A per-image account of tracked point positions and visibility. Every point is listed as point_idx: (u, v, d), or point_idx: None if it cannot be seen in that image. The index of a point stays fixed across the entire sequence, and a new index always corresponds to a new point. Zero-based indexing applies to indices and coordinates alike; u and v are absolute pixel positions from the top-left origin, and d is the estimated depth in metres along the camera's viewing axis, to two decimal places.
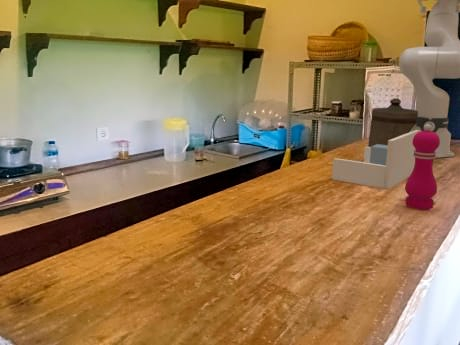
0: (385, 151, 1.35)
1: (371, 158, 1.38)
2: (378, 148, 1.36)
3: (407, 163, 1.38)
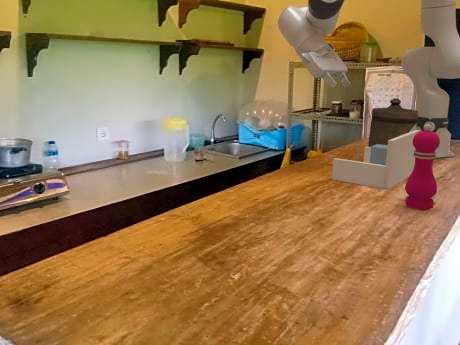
0: (385, 151, 1.35)
1: (371, 158, 1.38)
2: (378, 148, 1.36)
3: (407, 163, 1.38)
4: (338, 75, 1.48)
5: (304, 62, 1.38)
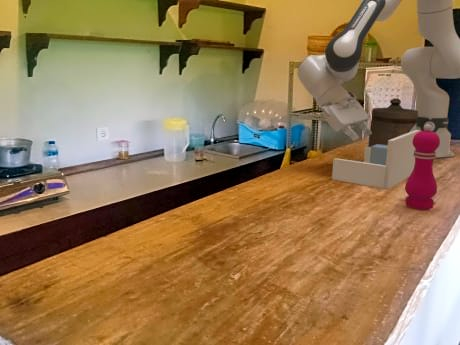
0: (385, 151, 1.35)
1: (371, 158, 1.38)
2: (378, 148, 1.36)
3: (407, 163, 1.38)
4: (359, 124, 1.47)
5: (325, 116, 1.37)
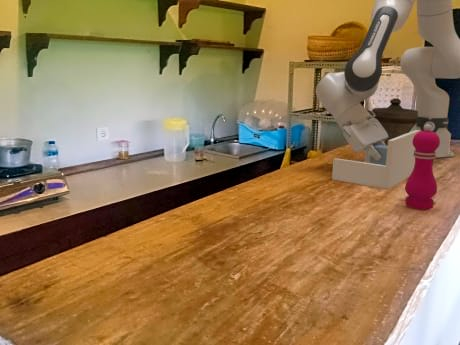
0: (385, 151, 1.35)
1: (371, 158, 1.38)
2: (378, 148, 1.36)
3: (407, 163, 1.38)
4: None
5: (345, 136, 1.34)
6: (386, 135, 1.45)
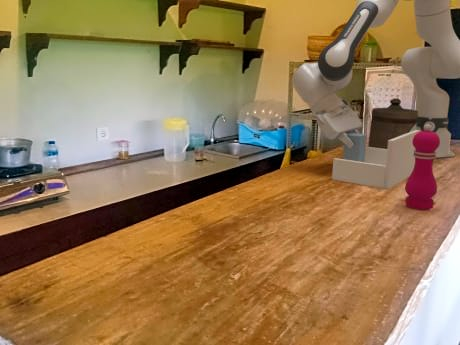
0: (357, 139, 1.40)
1: (345, 145, 1.42)
2: (351, 136, 1.41)
3: (407, 163, 1.38)
4: (351, 132, 1.47)
5: (319, 124, 1.39)
6: (360, 124, 1.49)
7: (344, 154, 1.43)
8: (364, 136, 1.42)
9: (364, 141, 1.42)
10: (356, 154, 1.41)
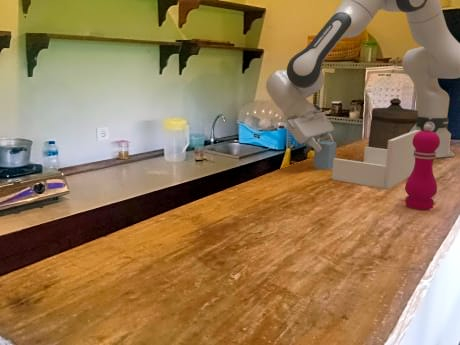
0: (327, 147, 1.46)
1: (315, 153, 1.49)
2: (321, 144, 1.47)
3: (407, 163, 1.38)
4: (324, 136, 1.54)
5: (290, 128, 1.45)
6: (332, 128, 1.56)
7: (315, 161, 1.50)
8: (334, 144, 1.48)
9: (333, 149, 1.49)
10: (326, 161, 1.47)
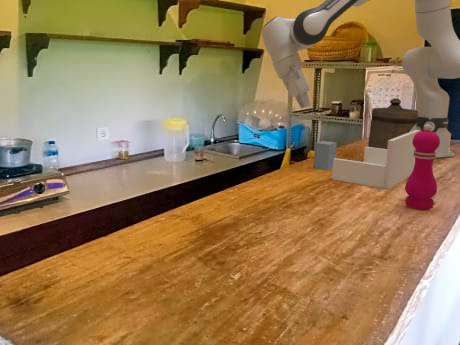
0: (327, 147, 1.46)
1: (315, 153, 1.49)
2: (321, 144, 1.47)
3: (407, 163, 1.38)
4: (297, 95, 1.61)
5: (294, 76, 1.46)
6: None
7: (315, 161, 1.50)
8: (334, 144, 1.48)
9: (333, 149, 1.49)
10: (326, 161, 1.47)
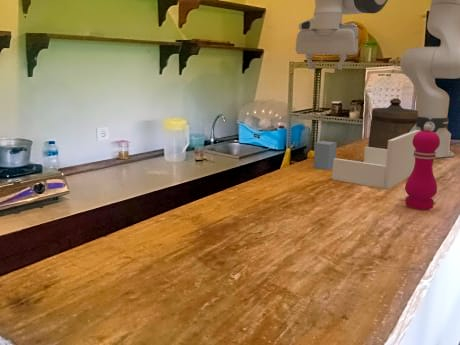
0: (327, 147, 1.46)
1: (315, 153, 1.49)
2: (321, 144, 1.47)
3: (407, 163, 1.38)
4: (310, 54, 1.54)
5: (353, 35, 1.43)
6: None
7: (315, 161, 1.50)
8: (334, 144, 1.48)
9: (333, 149, 1.49)
10: (326, 161, 1.47)
